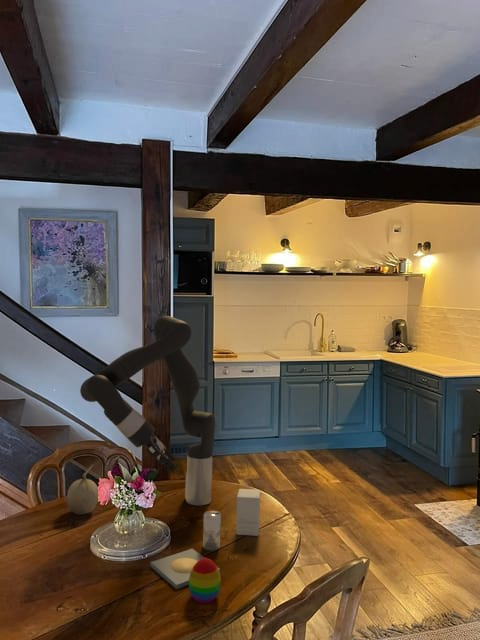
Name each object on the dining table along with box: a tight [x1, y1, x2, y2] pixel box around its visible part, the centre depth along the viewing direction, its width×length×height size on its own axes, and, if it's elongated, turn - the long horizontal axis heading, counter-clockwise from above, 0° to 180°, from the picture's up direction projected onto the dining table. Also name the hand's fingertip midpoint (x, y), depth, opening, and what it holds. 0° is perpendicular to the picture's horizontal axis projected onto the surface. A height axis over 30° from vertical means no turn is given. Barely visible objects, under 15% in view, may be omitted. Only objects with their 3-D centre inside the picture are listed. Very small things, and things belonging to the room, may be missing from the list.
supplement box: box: [235, 488, 261, 537], centre depth 175 cm, size 7×7×13 cm
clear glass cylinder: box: [202, 510, 222, 551], centre depth 164 cm, size 5×5×10 cm
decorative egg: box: [188, 557, 222, 604], centre depth 137 cm, size 8×8×10 cm
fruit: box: [66, 464, 99, 515], centre depth 184 cm, size 10×12×15 cm
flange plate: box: [150, 548, 221, 590], centre depth 150 cm, size 14×14×1 cm
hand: (173, 464), depth 161 cm, fingers open, 8 cm apart
